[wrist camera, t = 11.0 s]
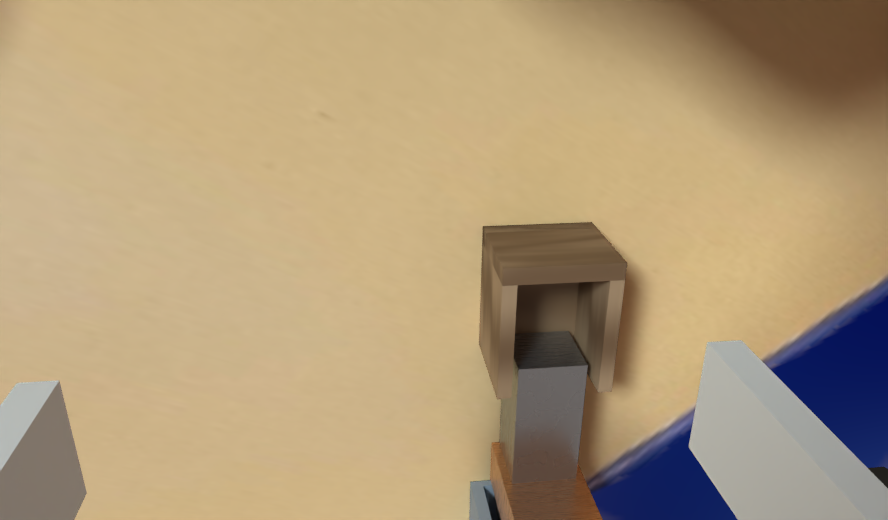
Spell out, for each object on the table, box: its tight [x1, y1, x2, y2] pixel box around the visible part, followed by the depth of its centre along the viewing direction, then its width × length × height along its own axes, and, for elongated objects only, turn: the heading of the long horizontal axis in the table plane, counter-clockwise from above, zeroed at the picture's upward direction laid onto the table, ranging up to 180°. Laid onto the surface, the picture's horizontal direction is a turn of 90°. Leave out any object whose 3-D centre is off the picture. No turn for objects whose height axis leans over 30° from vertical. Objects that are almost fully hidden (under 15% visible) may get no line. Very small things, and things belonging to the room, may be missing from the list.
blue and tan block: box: [490, 331, 602, 520], centre depth 43 cm, size 14×5×9 cm, turn 179°
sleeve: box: [479, 222, 627, 399], centre depth 42 cm, size 8×7×6 cm
